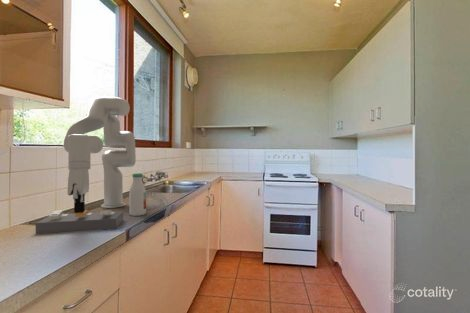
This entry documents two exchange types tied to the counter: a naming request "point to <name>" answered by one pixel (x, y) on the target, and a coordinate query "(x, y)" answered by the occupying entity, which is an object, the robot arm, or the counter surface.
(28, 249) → the counter surface
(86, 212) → the amber rocker
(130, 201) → the milk bottle
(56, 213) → the white rocker
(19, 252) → the counter surface
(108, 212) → the white rocker
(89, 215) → the power strip
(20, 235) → the counter surface
